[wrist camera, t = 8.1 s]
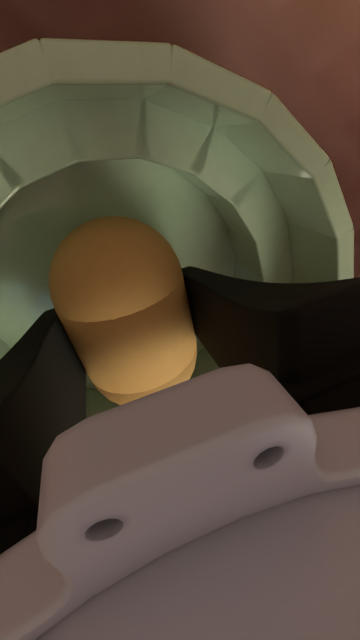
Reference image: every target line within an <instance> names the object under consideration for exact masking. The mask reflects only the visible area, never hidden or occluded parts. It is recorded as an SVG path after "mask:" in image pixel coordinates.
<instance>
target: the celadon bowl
mask: <svg viewBox="0 0 360 640" xmlns="http://www.w3.org/2000/svg"><path fill="white" fill-rule="evenodd" d="M106 216H123V217H127V218H132V219H136V220H139V221H141V222H143V223H145V224H147V225H149V226H151V227H152V228H153V229H155V230H156V231H157V232H159V233H160V234H161V235H162V236H163V237H164V238H165V239H166V240H167V241H168V242H169V244H170V245H171V247H172V248H173V250H174V252H175V254H176V255H177V257H178V259H179V262H180V265H181V268H185V267H188V266H192V267H197V268H200V269H204V270H207V271H211V272H214V273H218V274H222V275H225V276H230V277H234V278H239V279H244V280H250V281H259V282H268V283H314V282H328V281H336V280H343V279H351V278H354V229H353V227H354V226H353V223H352V220H351V217H350V214H349V211H348V208H347V205H346V202H345V199H344V196H343V194H342V191H341V188H340V185H339V182H338V179H337V176H336V173H335V170H334V167H333V164H332V162H331V160H330V159H329V157H328V155H327V154H326V153H325V152H324V151H323V150H322V148H321V147H320V146H319V145H318V144H317V143H316V142H315V140H314V139H313V138H312V137H311V136H310V135H309V133H308V132H307V131H306V130H305V129H304V128H303V127H302V125H301V124H300V123H299V122H298V121H297V120H296V119H295V117H294V116H293V115H292V114H291V113H290V112H289V110H288V109H287V108H286V107H285V106H284V105H283V104H282V102H281V101H280V100H279V99H278V98H277V97H276V95H275V94H274V93H271V92H270V90H269V89H267V88H265V87H262V86H260V85H258V84H256V83H254V82H252V81H250V80H248V79H246V78H244V77H242V76H240V75H238V74H236V73H233V72H231V71H229V70H227V69H225V68H223V67H221V66H219V65H217V64H215V63H213V62H211V61H209V60H207V59H204V58H202V57H200V56H198V55H196V54H194V53H192V52H190V51H188V50H186V49H184V48H182V47H180V46H177V45H175V44H172V45H170V44H169V43H167V42H145V41H118V40H91V39H64V38H41V39H39V40H38V39H36V38H34V39H31V40H29V41H27V42H24V43H22V44H19V45H17V46H14V47H12V48H10V49H7V50H5V51H2V52H0V359H1V358H2V357H3V356H4V355H5V354H6V353H7V352H8V351H9V350H10V349H11V348H12V347H13V346H14V345H15V344H16V343H17V342H18V341H19V339H20V338H21V337H22V336H23V335H24V334H25V333H26V331H27V330H28V329H29V328H30V327H31V326H32V325H33V323H34V322H35V321H36V320H37V319H38V318H39V317H40V315H41V314H42V313H44V312H45V311H47V310H50V309H53V308H54V306H53V303H52V300H51V297H50V290H49V281H48V279H49V269H50V265H51V262H52V259H53V256H54V254H55V251H56V250H57V248H58V247H59V245H60V243H61V242H62V240H63V239H64V238H65V237H66V236H67V235H68V234H69V233H70V232H72V231H73V230H74V229H75V228H77V227H78V226H80V225H82V224H84V223H86V222H87V221H90V220H92V219H96V218H100V217H106ZM195 337H196V345H197V358H196V363H195V368H194V371H193V373H192V375H191V377H190V379H192V378H195V377H197V376H200V375H203V374H205V373H208V372H211V371H213V370H216V369H219V366H218V365H217V364H216V362H215V361H214V360H213V358H212V357H211V355H210V354H209V353H208V351H207V350H206V349H205V347H204V346H203V345H202V343H201V342H200V340H199V339H198V338H197V336H196V335H195ZM117 406H120V405H119V404H117V403H114V402H112V401H110V400H109V399H108V398H106V397H105V396H104V395H103V394H102V393H100V392H99V391H98V390H97V389H96V387H95V386H94V384H93V383H92V381H91V380H90V378H89V376H88V374H87V372H86V418H88V417H91V416H93V415H96V414H99V413H101V412H104V411H107V410H109V409H112V408H115V407H117Z"/></svg>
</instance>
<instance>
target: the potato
mask: <svg viewBox="0 0 360 640" xmlns="http://www.w3.org/2000/svg"><path fill="white" fill-rule="evenodd" d="M48 281H49V290H50V297H51V300H52V303H53V306H54V309H55V311H56V313H57V315H58V317H59V319H60V321H61V323H62V325H63V327H64V329H65V331H66V333H67V335H68V337H69V339H70V341H71V343H72V345H73V347H74V349H75V351H76V353H77V355H78V357H79V359H80V360H81V362H82V364H83V366H84V368H85V370H86V372H87V374H88V376H89V378H90V380H91V381H92V383H93V384H94V386H95V387H96V389H97V390H98V391H99V392H100V393H102V394H103V395H104V396H105V397H106V398H108V399H109V400H110V401H112V402H114V403H117V404H119V405H123V404H125V403H128V402H131V401H133V400H136V399H139V398H141V397H144V396H147V395H149V394H152V393H155V392H157V391H160V390H163V389H165V388H168V387H171V386H173V385H176V384H179V383H181V382H184V381H187V380H189V379H190V377H191V375H192V373H193V371H194V368H195V363H196V358H197V345H196V337H195V332H194V327H193V322H192V317H191V312H190V307H189V302H188V297H187V292H186V287H185V282H184V278H183V273H182V269H181V265H180V262H179V259H178V257H177V255H176V254H175V252H174V250H173V248H172V247H171V245H170V244H169V242H168V241H167V240H166V239H165V238H164V237H163V236H162V235H161V234H160V233H159V232H157V231H156V230H155V229H153V228H152V227H151V226H149V225H147V224H145V223H143V222H141V221H139V220H136V219H132V218H127V217H123V216H106V217H100V218H96V219H92V220H90V221H87V222H86V223H84V224H82V225H80V226H78V227H77V228H75V229H74V230H73V231H72V232H70V233H69V234H68V235H67V236H66V237H65V238H64V239H63V240H62V242H61V243H60V245H59V247H58V248H57V250H56V251H55V254H54V256H53V259H52V262H51V265H50V269H49V279H48Z"/></svg>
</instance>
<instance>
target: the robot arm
mask: <svg viewBox="0 0 360 640" xmlns="http://www.w3.org/2000/svg"><path fill="white" fill-rule="evenodd" d="M181 269H182V273H183V278H184V282H185V287H186V292H187V297H188V302H189V307H190V312H191V317H192V322H193V327H194V332H195V335H196V336H197V338H198V339H199V340H200V342H201V343H202V345H203V346H204V347H205V349H206V350H207V351H208V353H209V354H210V355H211V357H212V358H213V360H214V361H215V362H216V364H217V365H218V366H219V369H216V370H213V371H211V372H208V373H205V374H203V375H200V376H197V377H195V378H192V379H189V380H187V381H184V382H181V383H179V384H176V385H173V386H171V387H168V388H165V389H163V390H160V391H157V392H155V393H152V394H149V395H147V396H144V397H141V398H139V399H136V400H133V401H131V402H128V403H125V404H123V405H120V406H117V407H115V408H112V409H109V410H107V411H104V412H101V413H99V414H96V415H93V416H91V417H88V418H86V370H85V368H84V366H83V364H82V362H81V360H80V359H79V357H78V355H77V353H76V351H75V349H74V347H73V345H72V343H71V341H70V339H69V337H68V335H67V333H66V331H65V329H64V327H63V325H62V323H61V321H60V319H59V317H58V315H57V313H56V311H55V309H54V308H53V309H50V310H47V311H45V312H44V313H42V314H41V315H40V317H39V318H38V319H37V320H36V321H35V322H34V323H33V325H32V326H31V327H30V328H29V329H28V330H27V331H26V333H25V334H24V335H23V336H22V337H21V338H20V339H19V341H18V342H17V343H16V344H15V345H14V346H13V347H12V348H11V349H10V350H9V351H8V352H7V353H6V354H5V355H4V356H3V357H2V358H1V359H0V640H360V277H358V278H351V279H343V280H336V281H328V282H314V283H268V282H259V281H250V280H244V279H239V278H234V277H230V276H225V275H222V274H218V273H214V272H211V271H207V270H204V269H200V268H197V267H192V266H188V267H185V268H181Z"/></svg>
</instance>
